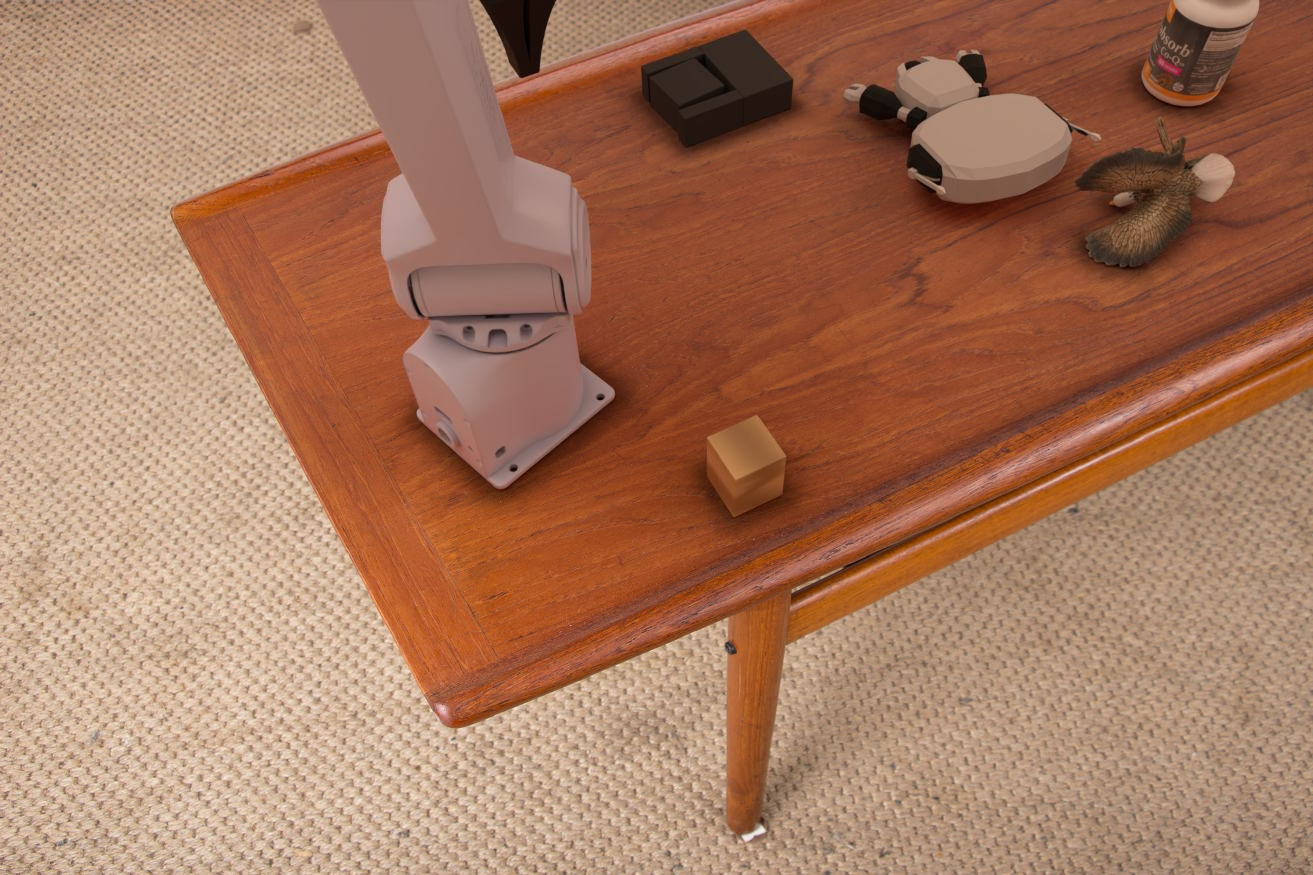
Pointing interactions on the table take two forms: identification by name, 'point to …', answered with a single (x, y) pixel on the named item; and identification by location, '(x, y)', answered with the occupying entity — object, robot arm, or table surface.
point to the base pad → (728, 86)
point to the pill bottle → (1196, 49)
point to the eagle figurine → (1151, 197)
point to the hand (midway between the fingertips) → (524, 67)
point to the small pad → (682, 89)
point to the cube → (745, 465)
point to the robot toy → (970, 130)
